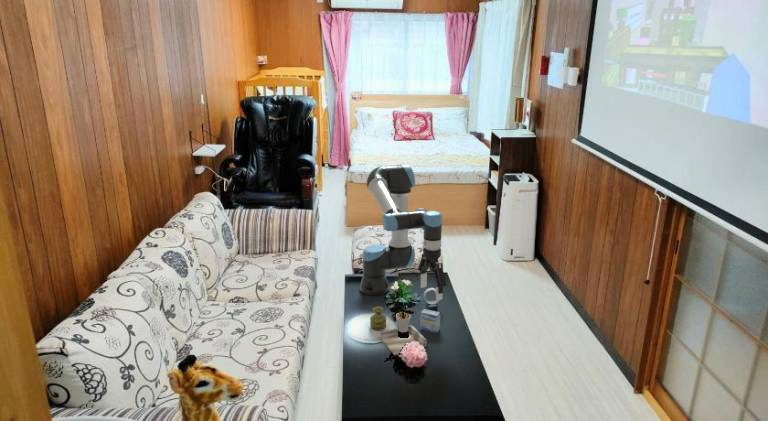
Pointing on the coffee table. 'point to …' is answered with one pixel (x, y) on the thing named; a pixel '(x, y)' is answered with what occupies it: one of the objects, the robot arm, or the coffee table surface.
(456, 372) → the coffee table surface
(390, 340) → the corner arena
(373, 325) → the gold round knobbed cylinder
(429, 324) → the medicine box
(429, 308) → the watch
